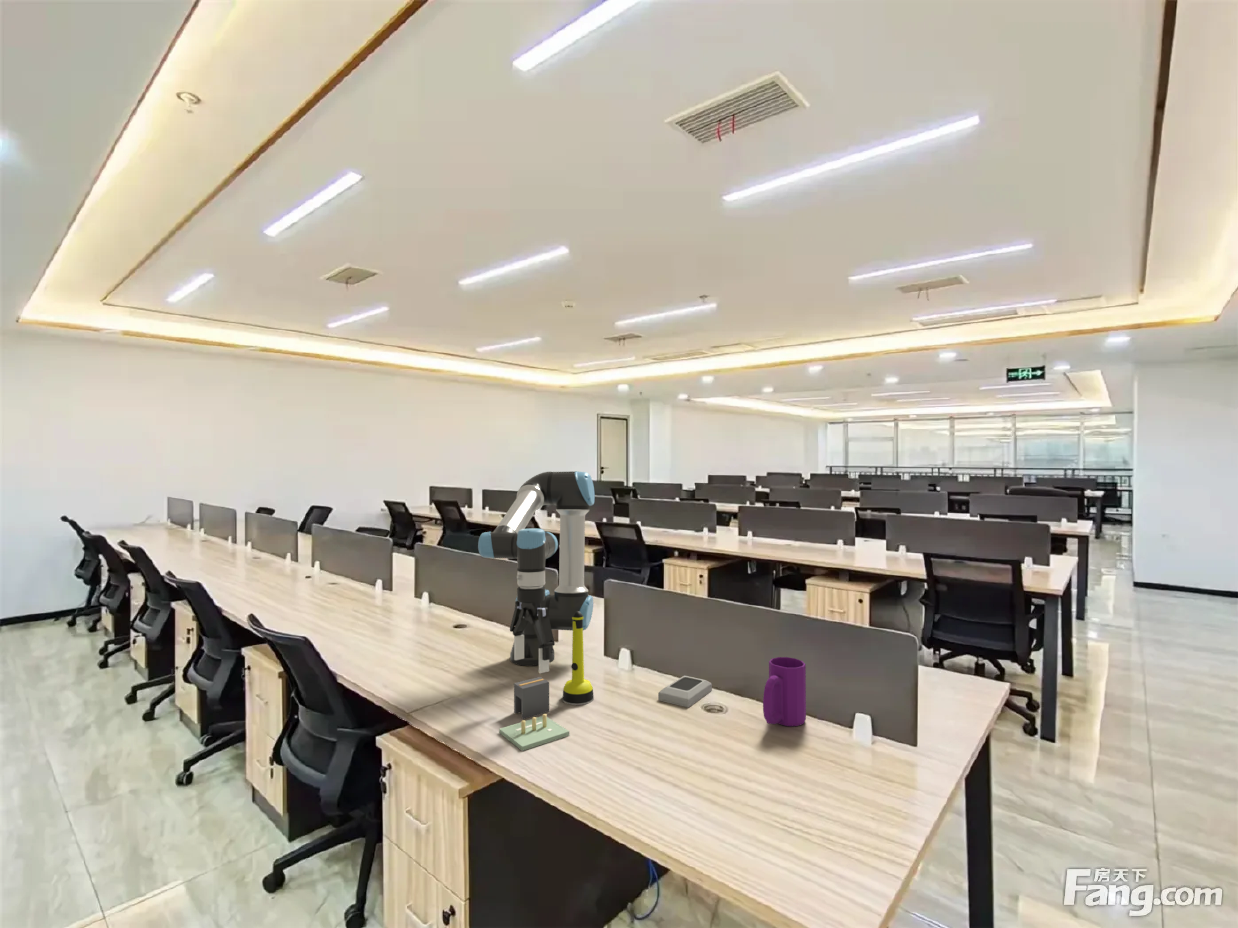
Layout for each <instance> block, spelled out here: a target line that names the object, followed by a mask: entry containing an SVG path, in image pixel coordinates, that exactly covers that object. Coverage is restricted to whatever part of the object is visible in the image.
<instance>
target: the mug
mask: <svg viewBox="0 0 1238 928" xmlns="http://www.w3.org/2000/svg"><path fill="white" fill-rule="evenodd" d="M806 670H807V666H806V663H805V662H804V661H803V660H800V659H798V658H795V657H794V658H793V657H787V656H784V657H783V656H778V657H773V658H771V659H769V661H768V678H767V680H766V682H765V686H764V689H763V696H762V697H763V699H762V713H763V717H764V719H765V721H766V723H767V724H769V725H775V724H778V725H781V726H784V727H798V726H803V725H804V723H805V722H806V719H807V696H806V695H807V690H806V689H807V685H806V683H807V679H806V677H807V675H806V673H807V672H806Z"/></svg>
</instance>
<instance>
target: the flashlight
mask: <svg viewBox="0 0 1238 928" xmlns="http://www.w3.org/2000/svg"><path fill="white" fill-rule="evenodd" d="M572 619H573V631H572V639H571V641H572V645H571V646H572V647H571V648H572V650H571V651H572V655H571V659H572V660H571V661H572V662H571V667H570V668H571V679H568V680H567V681H566V682H565V683H564V686H563V688H562V689H563V690H562V698H561V699H562V702H563V703H565V704H567V705H572V706H583V705H587V704H590V703H592V702H593V701H594V698H595V697H594V688H593V684H592V683H591V681H590V680H588V679H586V678H585V660H584V658H585V657H584V630H583V615H582V614H581V613H580V612H579V611H576V612H575V613H574V615H573V616H572Z"/></svg>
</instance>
